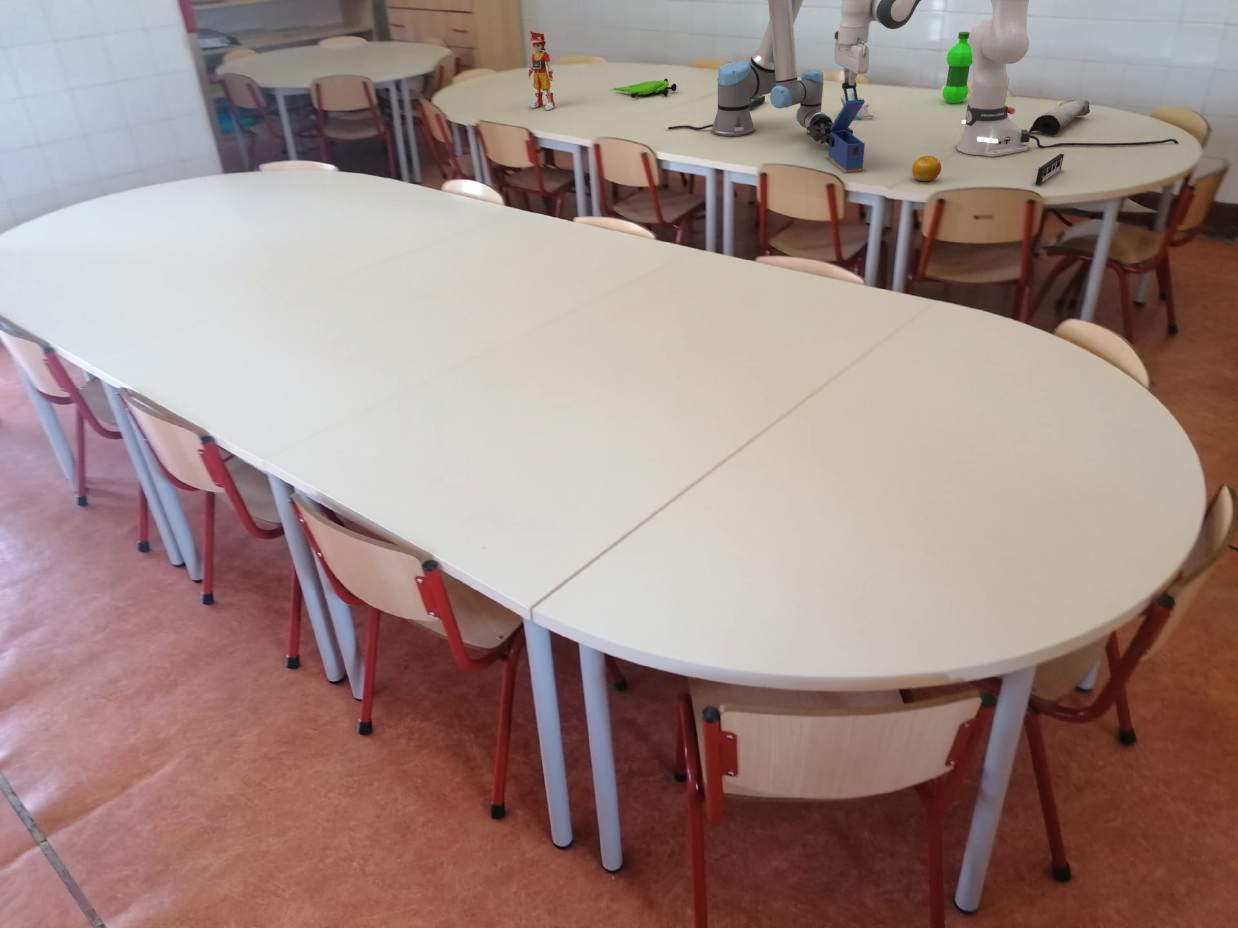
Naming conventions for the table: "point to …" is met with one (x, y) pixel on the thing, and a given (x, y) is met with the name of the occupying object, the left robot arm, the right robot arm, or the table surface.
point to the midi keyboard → (1049, 169)
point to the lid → (847, 110)
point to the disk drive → (756, 101)
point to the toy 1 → (541, 71)
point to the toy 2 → (648, 88)
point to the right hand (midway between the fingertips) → (849, 84)
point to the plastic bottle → (958, 70)
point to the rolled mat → (1060, 117)
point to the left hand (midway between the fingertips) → (842, 141)
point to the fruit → (926, 168)
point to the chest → (846, 151)
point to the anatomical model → (863, 110)
